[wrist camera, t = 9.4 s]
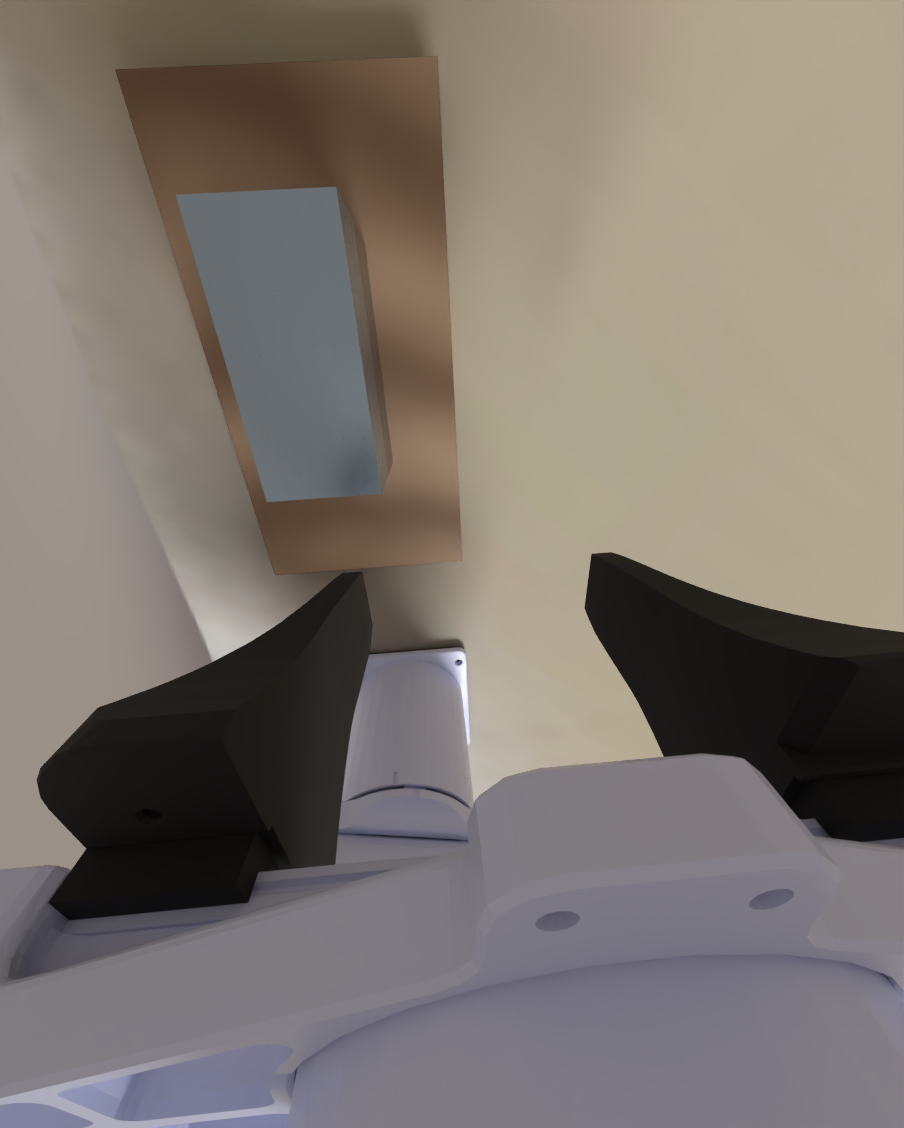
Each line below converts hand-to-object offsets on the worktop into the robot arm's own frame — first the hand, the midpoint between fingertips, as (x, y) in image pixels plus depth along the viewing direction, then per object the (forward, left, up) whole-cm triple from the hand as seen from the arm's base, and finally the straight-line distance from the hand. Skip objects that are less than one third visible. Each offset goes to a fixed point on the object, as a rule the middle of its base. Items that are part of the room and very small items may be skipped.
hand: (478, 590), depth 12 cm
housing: (+6, +5, -8) cm, 11 cm away
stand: (+6, +5, -9) cm, 12 cm away
